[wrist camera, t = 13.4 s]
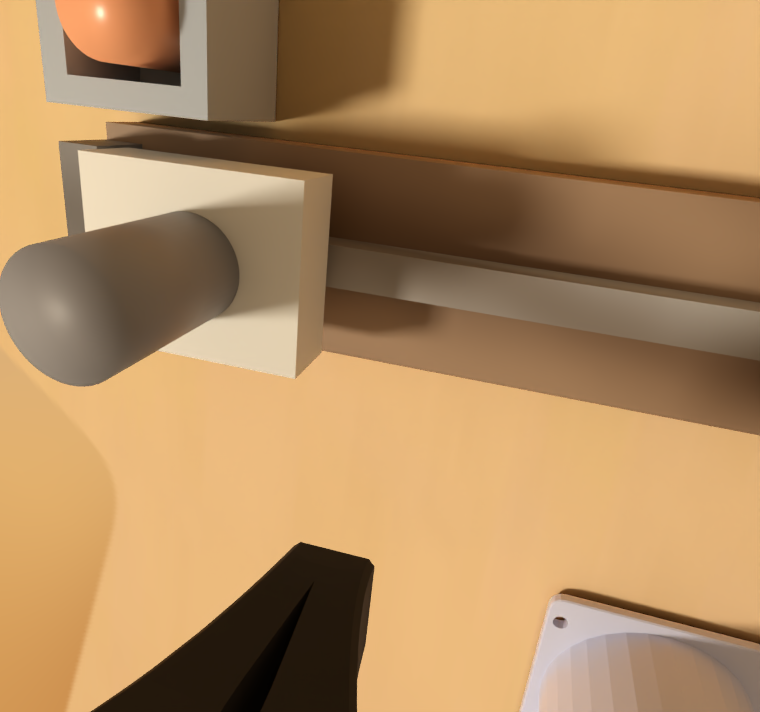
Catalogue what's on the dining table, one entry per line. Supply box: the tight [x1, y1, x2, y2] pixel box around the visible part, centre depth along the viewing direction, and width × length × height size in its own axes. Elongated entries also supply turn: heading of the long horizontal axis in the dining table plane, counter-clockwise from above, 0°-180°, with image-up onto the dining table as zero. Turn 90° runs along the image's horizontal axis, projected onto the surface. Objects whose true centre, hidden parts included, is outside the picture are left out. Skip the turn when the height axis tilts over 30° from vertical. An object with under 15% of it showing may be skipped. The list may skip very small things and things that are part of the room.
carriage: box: [0, 147, 333, 386], centre depth 14 cm, size 5×6×6 cm
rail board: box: [59, 122, 760, 435], centre depth 17 cm, size 6×22×4 cm, turn 84°
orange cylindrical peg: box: [55, 0, 181, 73], centre depth 15 cm, size 2×2×4 cm
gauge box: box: [36, 0, 279, 122], centre depth 16 cm, size 5×5×4 cm
